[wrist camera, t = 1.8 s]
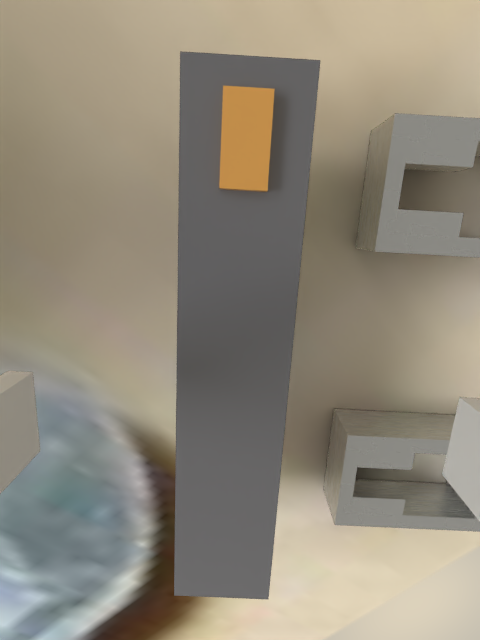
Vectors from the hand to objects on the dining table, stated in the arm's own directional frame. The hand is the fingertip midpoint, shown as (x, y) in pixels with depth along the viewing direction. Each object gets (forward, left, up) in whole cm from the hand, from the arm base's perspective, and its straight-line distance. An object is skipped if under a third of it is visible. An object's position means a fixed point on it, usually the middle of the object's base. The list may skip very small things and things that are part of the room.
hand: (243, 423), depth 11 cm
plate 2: (+11, +8, -11) cm, 17 cm away
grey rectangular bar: (0, 0, -11) cm, 11 cm away
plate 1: (+11, -8, -11) cm, 17 cm away
